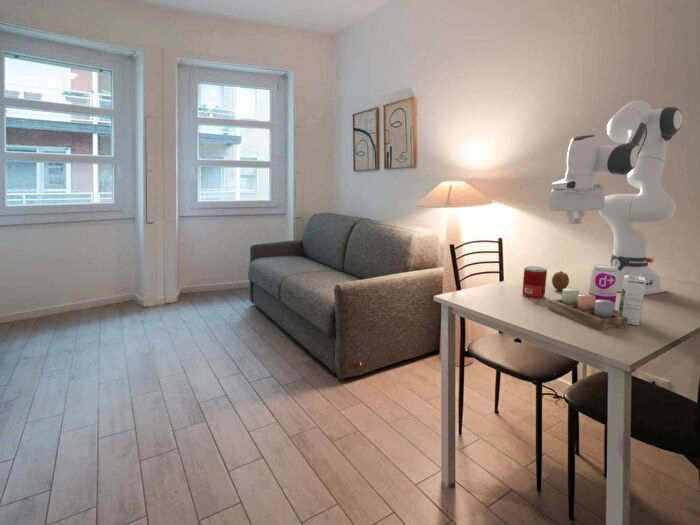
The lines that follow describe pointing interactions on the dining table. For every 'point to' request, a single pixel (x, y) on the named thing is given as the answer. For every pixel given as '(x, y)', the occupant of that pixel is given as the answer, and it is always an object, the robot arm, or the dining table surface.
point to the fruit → (560, 280)
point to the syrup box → (632, 298)
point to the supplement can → (604, 282)
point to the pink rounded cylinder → (586, 302)
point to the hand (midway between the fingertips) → (574, 223)
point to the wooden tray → (587, 316)
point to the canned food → (534, 281)
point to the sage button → (570, 296)
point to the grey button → (603, 308)
